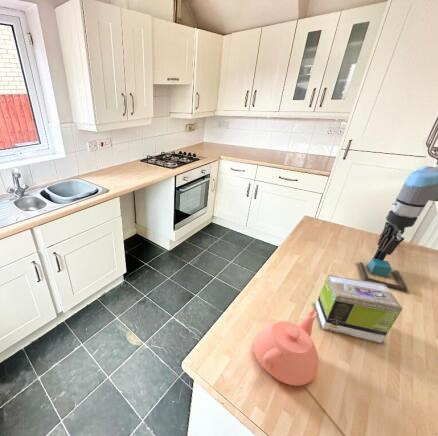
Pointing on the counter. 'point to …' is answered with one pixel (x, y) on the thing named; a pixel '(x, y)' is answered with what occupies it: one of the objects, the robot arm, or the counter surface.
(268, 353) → the teapot
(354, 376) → the counter surface
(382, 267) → the teal block
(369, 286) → the tea box
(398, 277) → the frame
